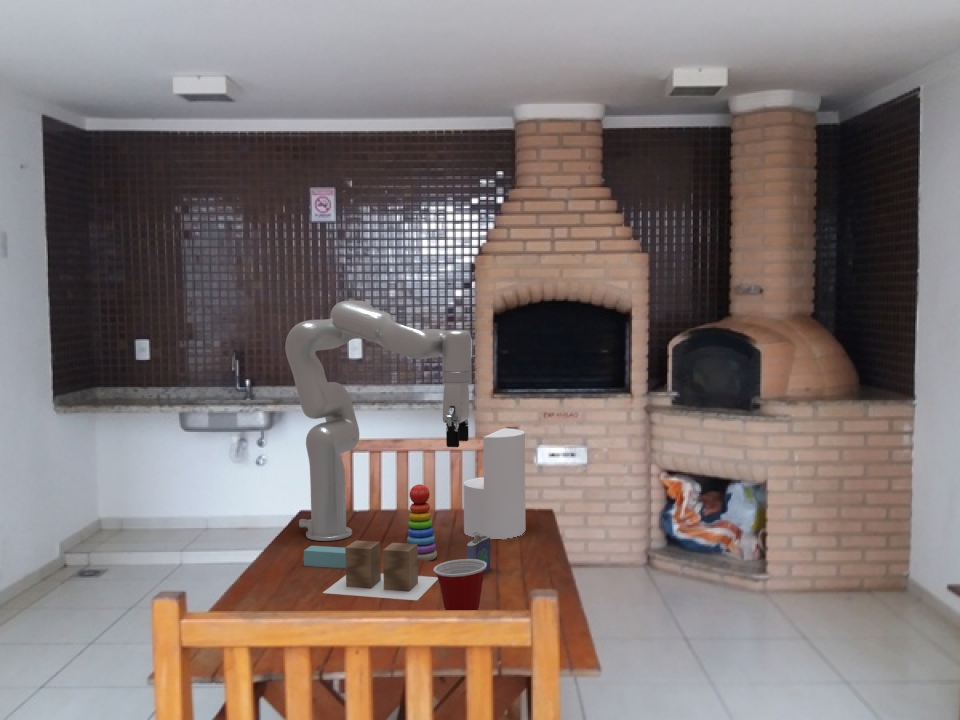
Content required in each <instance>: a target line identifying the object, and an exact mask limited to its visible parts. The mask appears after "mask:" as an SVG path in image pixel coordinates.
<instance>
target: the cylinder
mask: <svg viewBox="0 0 960 720" xmlns="http://www.w3.org/2000/svg"><path fill="white" fill-rule="evenodd" d="M482 438H483V439H482V442H483V443H482V444H483V445H482V447H483V454H482V456H483V457H482V458H483V477H474V478H470V479H467V480H465V481H464V482H463V533H464V534H465V535H466V536H467V535H468V537H470V536H471V537H470V538H473V537H475V534H476V533H475V532H477V533H479V534H481V535H480V536H482V535H483V536H489V537H490V539H502V540H508V539H507V538H510V539H514V538H513V537H516V538H518V537H517V536H519V537H521V536H523V535H524V534H525V533H526V532H525V531H527V530H526V521H527V520H526V434H525V431H524V430H522V429H517V428H505V427H504V428H501V429H498V430H496V431H494V432H492V433H489V434H487V435H485V436H483V437H482ZM524 532H525V533H524ZM473 533H475V534H474V535H473ZM523 533H524V534H523ZM522 534H523V535H522ZM520 535H521V536H520Z"/></svg>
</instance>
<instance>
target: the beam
mask: <svg viewBox="0 0 960 720" xmlns="http://www.w3.org/2000/svg"><path fill="white" fill-rule="evenodd" d="M303 566H305V567H318V568H332V569H345V570H346V556H345V547H343V546H341V547H340V546H326V545H325V546H323V545H310V546H308V547H307V548H305V549H304V550H303Z"/></svg>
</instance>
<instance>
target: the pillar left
mask: <svg viewBox="0 0 960 720" xmlns="http://www.w3.org/2000/svg"><path fill="white" fill-rule="evenodd" d="M344 548H345V556H346V569H345V575H346V587H355V588H368V589H371V588H373V587H374V586H375V585H376V584H377V583H378V582H380V581H381V572H382V571H381V566H382V565H381V541H370V540H356V539H355V540H354V541H353V542H351V543H349V544H348V545H346V546H345V547H344Z"/></svg>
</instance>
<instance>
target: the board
mask: <svg viewBox="0 0 960 720" xmlns="http://www.w3.org/2000/svg"><path fill="white" fill-rule="evenodd" d="M436 581H439V580H438V578H437V576H436V577H435V576H423V575H418V584H417V585H416V586H415V587H414V588H413V589H412V590H411V591H410V592H407V591H394V590H384V573H383V572H382V573H381V581H380V582H378V583H377V584H376V585H375V586H374V587H373V588H371V589H368V588H355V587H346V574H345V575H343V576H342V577H341V578H340V579H339V580H338V581H336V582H335V583H334V584H332V585H331V586H330V587H329V588H327V589H326V590H324V591H323V592H322V594H328V595H330V594H331V595H339V596H340V595H343V596H356V597H365V598H366V597H369V598H380V599H381V598H382V599H394V600H404V601H405V600H406V601H407V600H408V601H419V600H420V598H421V597H422V596H423V595H424V594H425V593H426V592H427V591H428V590H429V589H430V588H431V587H432V586H433V585H434V584H435V583H436Z"/></svg>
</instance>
